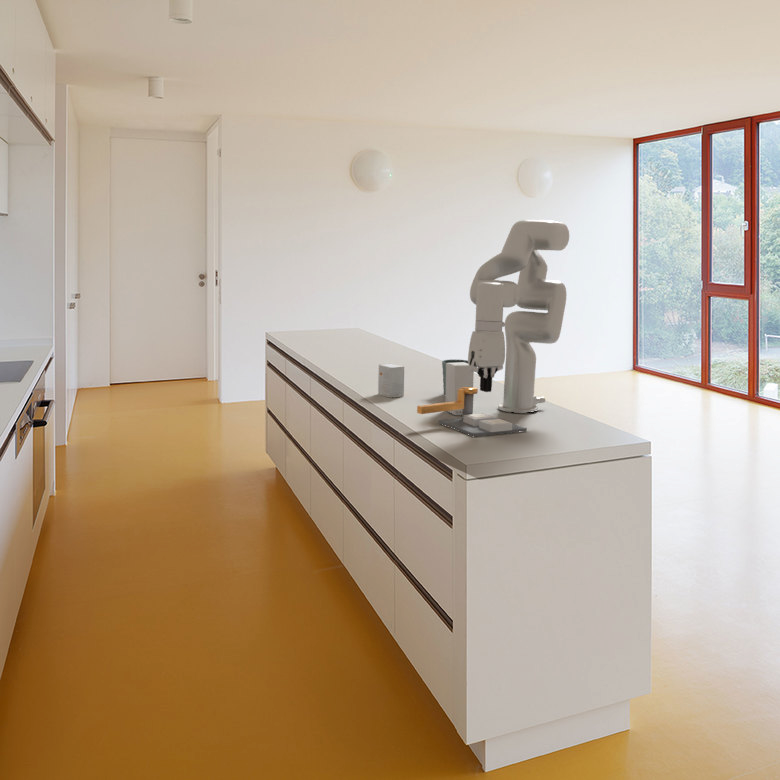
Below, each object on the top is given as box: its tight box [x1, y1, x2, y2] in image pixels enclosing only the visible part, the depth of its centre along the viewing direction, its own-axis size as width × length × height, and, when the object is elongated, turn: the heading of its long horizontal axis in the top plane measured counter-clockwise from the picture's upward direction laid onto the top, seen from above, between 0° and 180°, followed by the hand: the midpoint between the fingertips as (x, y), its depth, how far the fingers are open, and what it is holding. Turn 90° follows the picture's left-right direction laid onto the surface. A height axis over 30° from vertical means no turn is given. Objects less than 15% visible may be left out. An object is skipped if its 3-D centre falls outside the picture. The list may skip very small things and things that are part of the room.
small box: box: [377, 363, 405, 399], centre depth 267 cm, size 8×6×10 cm
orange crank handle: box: [416, 386, 478, 415], centre depth 223 cm, size 21×5×6 cm, turn 127°
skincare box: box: [445, 362, 474, 416], centre depth 241 cm, size 8×7×16 cm
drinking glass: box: [441, 358, 468, 396], centre depth 271 cm, size 10×10×12 cm
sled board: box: [438, 394, 527, 438], centre depth 222 cm, size 18×18×8 cm
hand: (485, 390), depth 220 cm, fingers closed
